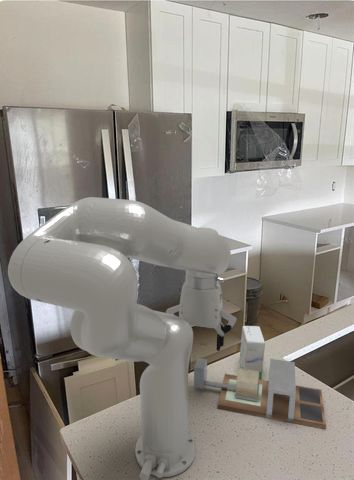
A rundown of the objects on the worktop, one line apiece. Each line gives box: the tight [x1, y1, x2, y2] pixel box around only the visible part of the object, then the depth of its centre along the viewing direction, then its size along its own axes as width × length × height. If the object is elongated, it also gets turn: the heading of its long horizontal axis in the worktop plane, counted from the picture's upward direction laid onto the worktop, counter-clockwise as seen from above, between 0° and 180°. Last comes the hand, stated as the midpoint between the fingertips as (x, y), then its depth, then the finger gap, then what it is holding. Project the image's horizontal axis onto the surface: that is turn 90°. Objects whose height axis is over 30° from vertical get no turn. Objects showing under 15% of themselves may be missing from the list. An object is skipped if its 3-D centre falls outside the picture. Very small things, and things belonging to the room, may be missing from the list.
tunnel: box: [266, 358, 297, 424], centre depth 90 cm, size 12×6×8 cm, turn 164°
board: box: [217, 373, 327, 430], centre depth 91 cm, size 12×24×1 cm, turn 74°
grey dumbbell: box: [193, 357, 259, 402], centre depth 93 cm, size 6×16×6 cm, turn 74°
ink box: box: [239, 325, 266, 380], centre depth 101 cm, size 9×5×12 cm, turn 179°
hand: (199, 345), depth 91 cm, fingers open, 9 cm apart
